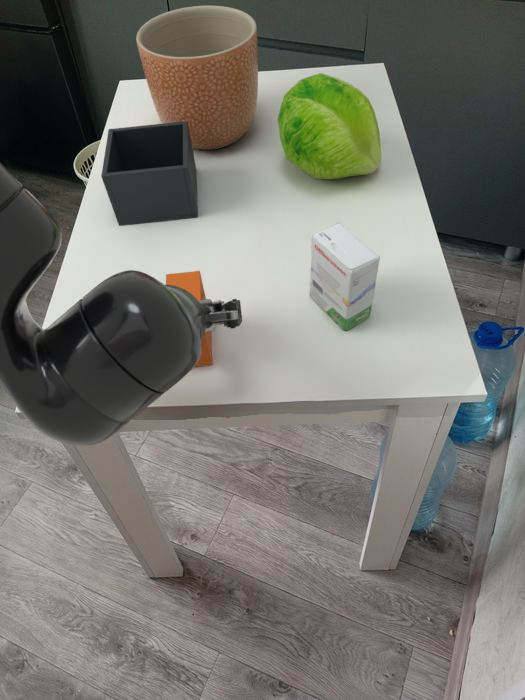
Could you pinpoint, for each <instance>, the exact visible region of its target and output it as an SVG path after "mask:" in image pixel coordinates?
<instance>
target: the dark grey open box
mask: <svg viewBox="0 0 525 700" xmlns="http://www.w3.org/2000/svg"><path fill="white" fill-rule="evenodd" d="M106 137H107V138H106V143H105V150H104V157H103V163H102V170H101V175H100V176H101V179H102V183H103V185H104V188H105V190H106V193H107V196H108V199H109V202H110V205H111V207H112V210H113V213H114V217H115V219H116V221H117V224H118V226H127V225H139V224H148V223H155V222H156V223H157V222H166V221H177V220H185V219H193V218H196V219H197V218H199V215H198V214H199V211H198V209H199V207H198V206H199V205H198V179H197V178H198V174H197V173H198V172H197V167H196V160H195V155H194V150H193V149H194V148H192V143H191V138H190V132H189V127H188V121H183V122H174V123H164V124H162V123H156V124H155V123H154V124H147V125H146V124H145V125H136V126H126V127H117V128H108V131H107V136H106Z"/></svg>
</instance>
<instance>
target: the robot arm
mask: <svg viewBox="0 0 525 700" xmlns="http://www.w3.org/2000/svg"><path fill="white" fill-rule="evenodd" d="M62 240H63V233H62V230H61V227H60V225H59V223H58V221H57V219H55V217H54V216H53V215H52V214H51V212H50V211H49V210H48V209H47V208H46V207H45V206H44V205H43V204H42V203H41V202H40V200H38V198H36V196H34V194H33V193H31V191H30V190H28V189H27V188H26V187H25V188H23V183H21V181H19V180H18V179H17V178H16V176H15V175H14V174H13V173H12V172H11V171H10V170H8V168H7V167H6V166H5V165H4V164H3V163H2V162H1V161H0V386H1V388H2V389H3V390H4V392H5V393H6V394H7V396H8V397H9V399H10V400H11V401H12V403H13V404H14V405H15V407H16V408H17V410H18V411H19V412H20V414H22V415H23V416H24V418H25V419H26V420H27V422H29V424H31V426H32V427H34V429H36V430H37V431H38V432H40V433H41V434H43V435H44V436H45V437H48V438H49V439H51V440H54V441H57V442H59V443H62V444H66V445H70V446H78V447H86V446H87V447H89V446H95V445H98V444H101V443H102V442H105V441H106V440H108V439H109V438H111V437H112V436H113V435H115V434H116V433H117V432H119V431H120V430H121V429H122V428H123V427H125V426H126V425H127V424H129V423H130V422H131V420H133V419H134V418H136V417H137V416H138V415H139V414H141V413H142V412H143V411H144V410H145V409H147V408H148V407H149V406H150V405H152V403H154V402H155V401H156V400H158V399H159V398H160V397H161V396H162V395H164V394H165V393H166V392H168V391H169V390H170V389H172V388H173V387H174V386H175V385H177V383H179V382H180V381H181V380H183V378H184V377H186V376H187V375H188V374H189V373H190V372H191V371H192V369H194V368H195V367H194V366H195V365H196V363H197V362H198V361H199V359H200V356H201V342H202V340H203V337H204V334H205V332H209V331H211V332H213V331H215V329H216V327H217V326H223V327H225V328H229V329H231V330H232V329H233V330H234V329H236V328H238V327H240V325H241V324H242V323H243V315H242V306H241V300H240V299H237V298H233V299H231V300H228V301H226V302H225V301H223V300H221V299H217V300H216V301H212V299H210V298H208V299H207V298H206V299H205V300H197V299H196V298H195V297H194V296H193V295H192V294H191V293H189V292H188V291H186V290H185V289H183V288H180V287H177V286H173V285H166V284H164V283H162V282H161V281H160V280H159V279H157V278H155V277H154V276H151V275H150V274H148V273H146V272H143V271H139V270H134V269H133V270H132V269H129V270H123V271H120V272H117V273H115V274H112V275H110V276H109V277H107V278H105V279H104V280H103V281H101V282H100V283H99V284H97V285H96V286H95V287H94V288H91V290H90V291H88V292H87V293H86V294H85V295H84V296H83V297H82V298H81V299H79V300H78V301H77V302H76V303H74V304H73V305H72V306H71V307H69V309H67V310H66V311H65V312H64V313H62V314H61V315H60V316H59V317H58V318H56V319H55V320H54V321H53V322H52V323H51V324H50V325H49V326H48V327H46V328H43V327H41V326H40V324H38V323H37V321H35V319H34V317H33V316H32V314H31V312H30V310H29V307H28V304H27V297H28V296H29V294H30V292H31V291H32V289H33V288H34V286H35V285H36V284H37V282H38V281H39V280H40V278H41V277H42V276H43V275H44V273H45V272H46V271H47V269H48V268H49V267H50V265H51V264H52V262H53V261H54V259H55V257H56V255H57V254H58V253H59V250H60V248H61V245H62Z"/></svg>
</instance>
